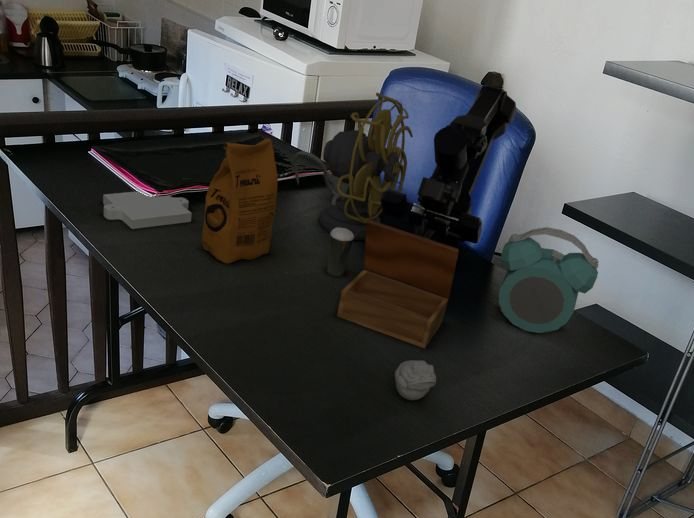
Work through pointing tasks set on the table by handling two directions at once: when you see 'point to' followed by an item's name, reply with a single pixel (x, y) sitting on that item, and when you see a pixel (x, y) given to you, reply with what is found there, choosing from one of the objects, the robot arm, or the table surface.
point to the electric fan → (362, 169)
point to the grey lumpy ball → (414, 379)
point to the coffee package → (241, 203)
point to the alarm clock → (543, 281)
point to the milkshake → (339, 250)
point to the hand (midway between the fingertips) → (413, 256)
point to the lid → (410, 258)
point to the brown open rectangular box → (392, 308)
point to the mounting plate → (145, 209)
